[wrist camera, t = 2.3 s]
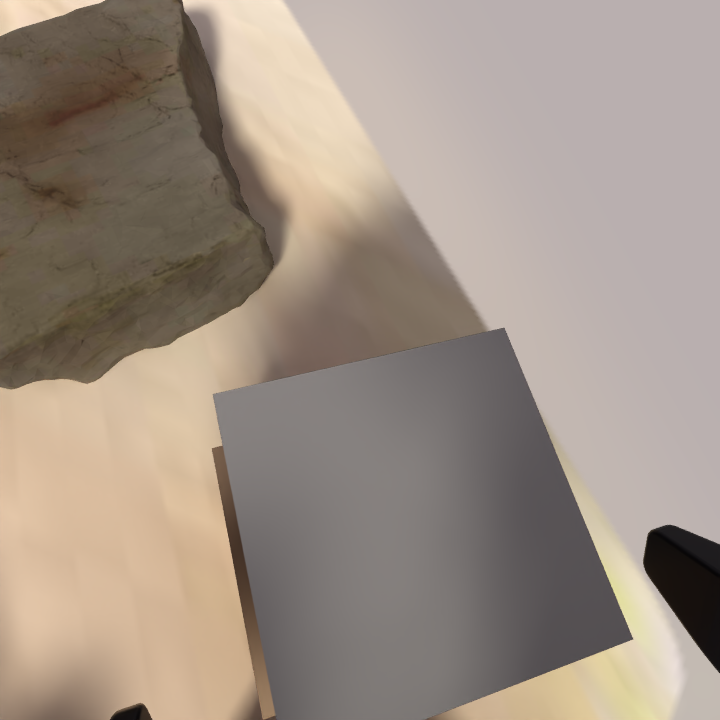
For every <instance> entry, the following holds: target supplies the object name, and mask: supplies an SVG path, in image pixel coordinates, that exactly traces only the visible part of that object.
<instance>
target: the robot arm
mask: <svg viewBox="0 0 720 720" xmlns="http://www.w3.org/2000/svg"><path fill="white" fill-rule="evenodd" d="M643 564H644V568H645V571H646V573H647V575H648V576H649V578H650V579H651V581H652V582H653V584H654V585H655V586H656V588H657V589H658V591H659V592H660V593H661V595H662V596H663V598H664V599H665V601H666V602H667V603H668V605H669V606H670V608H671V609H672V610H673V612H674V613H675V615H676V616H677V617H678V619H679V620H680V622H681V623H682V624H683V626H684V627H685V629H686V630H687V632H688V633H689V634H690V636H691V637H692V639H693V640H694V641H695V643H696V644H697V645H698V647H699V648H700V649H701V651H702V652H703V653H704V655H705V656H706V657H707V658H708V660H709V661H710V662H711V663H712V664H713V666H714V667H715V668H716V669H717V670H718V672H719V673H720V544H717V543H715V542H713V541H710V540H708V539H705V538H703V537H701V536H698V535H696V534H693V533H691V532H689V531H686V530H684V529H681V528H679V527H676V526H673V525H665V526H662V527H659V528H656V529H653V530H651V531H650V532H649V533H648V536H647V541H646V547H645V553H644V558H643ZM110 720H152V718H151V716H150V714H149V712H148V710H147V708H146V706H145V705H144V704H141V703H139V704H136V705H133V706H130V707H127V708H124V709H121V710H119V711H117V712H116V713H115V714H114V715H113V716H112V717H111V719H110Z"/></svg>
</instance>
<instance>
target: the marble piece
mask: <svg viewBox="0 0 720 720" xmlns="http://www.w3.org/2000/svg"><path fill="white" fill-rule="evenodd" d="M222 128H223V125H222V122H221V118H220V116H219V109H218V103H217V96H216V89H215V84H214V80H213V77H212V74H211V70H210V67H209V64H208V62H207V59H206V57H205V53H204V50H203V48H202V45H201V41H200V38H199V35H198V33H197V30H196V28H195V26H194V25H193V24H192V22H191V20H190V18H189V17H188V15H187V14H186V13H185V12H184V7H183V2H182V0H105V1H103V2H101V3H100V4H95V5H91V6H87V7H83V8H79V9H76V10H74V11H72V12H70V13H68V14H66V15H63V16H59V17H55V18H52V19H49V20H46V21H43V22H40V23H36V24H33V25H29V26H26V27H22V28H19V29H16V30H14V31H11V32H9V33H7V34H5V35H2V36H0V387H2V388H7V389H15V388H19V387H21V386H24V385H26V384H29V383H32V382H35V381H41V380H55V379H70V380H75V381H78V382H81V383H86V384H88V383H91V382H94V381H96V380H97V379H99V378H101V377H102V376H103V374H105V373H106V372H107V371H108V370H109V369H111V368H112V367H113V366H114V365H115V364H116V363H118V362H119V361H120V360H122V359H123V358H124V357H126V356H129V355H131V354H133V353H135V352H138V351H140V350H143V349H146V348H157V347H162V346H166V345H169V344H171V343H172V342H173V341H175V340H176V339H177V338H179V337H181V336H183V335H185V334H187V333H189V332H191V331H193V330H195V329H197V328H199V327H201V326H203V325H205V324H208V323H209V322H211V321H213V320H215V319H216V318H218V317H219V316H221V315H224V314H226V313H228V312H229V311H230V310H232V309H234V308H236V307H239V306H241V305H242V304H243V303H244V302H245V300H246V299H247V298H248V296H249V295H251V294H252V293H253V292H255V291H256V290H258V289H259V288H260V287H261V284H262V282H263V280H264V279H265V278H266V276H267V275H268V274H269V273H270V271H271V270H272V268H273V265H274V261H273V257H272V254H271V252H270V251H269V247H268V245H267V242H266V238H265V230H264V228H263V227H262V226H261V225H260V224H258V223H257V222H256V221H255V220H254V219H252V218H251V215H250V213H249V210H248V207H247V205H246V204H245V203H244V201H243V198H242V196H241V194H240V185H239V181H238V178H237V176H236V173H235V171H234V169H233V168H232V166H231V164H230V162H229V160H228V158H227V154H226V152H225V149H224V144H223V140H222Z"/></svg>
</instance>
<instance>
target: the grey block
mask: <svg viewBox="0 0 720 720" xmlns="http://www.w3.org/2000/svg"><path fill="white" fill-rule="evenodd" d="M213 398H214V403H215V408H216V413H217V419H218V424H219V429H220V434H221V439H222V444H223V449H224V454H225V460H226V465H227V470H228V475H229V480H230V485H231V490H232V495H233V501H234V506H235V511H236V516H237V521H238V526H239V531H240V536H241V542H242V547H243V552H244V557H245V562H246V567H247V572H248V577H249V583H250V588H251V593H252V598H253V603H254V608H255V613H256V618H257V624H258V629H259V634H260V639H261V644H262V649H263V654H264V659H265V665H266V670H267V675H268V680H269V685H270V690H271V695H272V700H273V706H274V711H275V716H276V720H425V719H428V718H430V717H433V716H435V715H438V714H441V713H443V712H446V711H448V710H451V709H454V708H456V707H459V706H461V705H464V704H467V703H469V702H472V701H474V700H477V699H480V698H482V697H485V696H487V695H490V694H493V693H495V692H498V691H500V690H503V689H505V688H508V687H511V686H513V685H516V684H518V683H521V682H524V681H526V680H529V679H531V678H534V677H537V676H539V675H542V674H544V673H547V672H550V671H552V670H555V669H557V668H560V667H563V666H565V665H568V664H570V663H573V662H576V661H578V660H581V659H583V658H586V657H589V656H591V655H594V654H596V653H599V652H601V651H604V650H607V649H609V648H612V647H614V646H617V645H620V644H622V643H625V642H627V641H630V640H633V638H632V635H631V633H630V630H629V628H628V625H627V623H626V621H625V618H624V616H623V613H622V611H621V609H620V606H619V604H618V601H617V599H616V596H615V594H614V592H613V589H612V587H611V584H610V582H609V580H608V577H607V575H606V572H605V570H604V567H603V565H602V563H601V560H600V558H599V555H598V553H597V551H596V548H595V546H594V543H593V541H592V538H591V536H590V534H589V531H588V529H587V526H586V524H585V522H584V519H583V517H582V514H581V512H580V510H579V507H578V505H577V502H576V500H575V497H574V495H573V493H572V490H571V488H570V485H569V483H568V481H567V478H566V476H565V473H564V471H563V468H562V466H561V464H560V461H559V459H558V456H557V454H556V452H555V449H554V447H553V444H552V442H551V439H550V437H549V435H548V432H547V430H546V427H545V425H544V423H543V420H542V418H541V415H540V413H539V410H538V408H537V406H536V403H535V401H534V398H533V396H532V394H531V391H530V389H529V386H528V384H527V381H526V379H525V377H524V374H523V372H522V369H521V367H520V365H519V362H518V360H517V357H516V355H515V353H514V350H513V348H512V345H511V343H510V340H509V338H508V336H507V333H506V331H505V328H501V329H497V330H492V331H488V332H483V333H479V334H475V335H470V336H466V337H461V338H457V339H453V340H448V341H444V342H440V343H435V344H431V345H426V346H422V347H418V348H413V349H409V350H405V351H400V352H396V353H391V354H387V355H383V356H378V357H374V358H369V359H365V360H361V361H356V362H352V363H348V364H343V365H339V366H334V367H330V368H326V369H321V370H317V371H312V372H308V373H304V374H299V375H295V376H291V377H286V378H282V379H277V380H273V381H269V382H264V383H260V384H255V385H251V386H247V387H242V388H238V389H234V390H229V391H225V392H220V393H216V394H213Z"/></svg>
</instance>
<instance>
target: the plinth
mask: <svg viewBox="0 0 720 720" xmlns="http://www.w3.org/2000/svg"><path fill="white" fill-rule="evenodd" d="M212 452H213V457H214V462H215V468H216V473H217V478H218V484H219V489H220V494H221V500H222V505H223V510H224V516H225V521H226V526H227V532H228V537H229V542H230V548H231V553H232V558H233V564H234V569H235V574H236V580H237V585H238V590H239V596H240V601H241V606H242V612H243V617H244V622H245V628H246V633H247V638H248V644H249V649H250V654H251V660H252V665H253V670H254V676H255V681H256V686H257V692H258V697H259V702H260V708H261V713H262V718H263V720H264V719H267V718H270V717H273V716H275V711H274V706H273V700H272V695H271V690H270V685H269V680H268V675H267V670H266V665H265V659H264V654H263V649H262V644H261V639H260V634H259V629H258V624H257V618H256V613H255V608H254V603H253V598H252V593H251V588H250V583H249V577H248V572H247V567H246V562H245V557H244V552H243V547H242V542H241V536H240V531H239V526H238V521H237V516H236V511H235V506H234V501H233V495H232V490H231V485H230V480H229V475H228V470H227V465H226V460H225V454H224V449H223V446H219V447H215V448H212Z"/></svg>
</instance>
